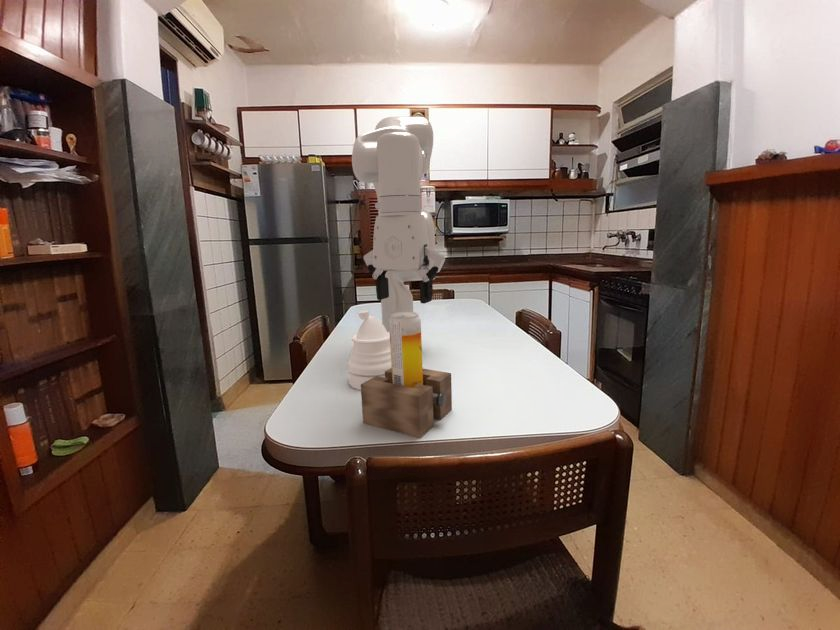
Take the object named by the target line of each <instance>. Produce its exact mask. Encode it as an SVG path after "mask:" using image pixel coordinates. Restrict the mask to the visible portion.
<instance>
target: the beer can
mask: <svg viewBox="0 0 840 630" xmlns="http://www.w3.org/2000/svg"><path fill="white" fill-rule="evenodd" d="M421 321H422V320H421V318H420V316H419V313H417V312H415V311H413V312H399V313H394V314H392V315H391V317H390V320H389V331H390V349H391V366H392V384H397V385H402V386H407V387H412V388H414V387H415V386H417V385H418V384H421V385H423V369H424V368H423V367H424V366H423V350H422V349H423V348H422V346H423V345H422V343H423V340H422V322H421Z"/></svg>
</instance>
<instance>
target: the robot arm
mask: <svg viewBox="0 0 840 630" xmlns="http://www.w3.org/2000/svg"><path fill="white" fill-rule="evenodd" d="M433 147H434V130H433V126H432V124H431V122H430V121H429V119H427V118H426V117H424V116H388V117H385V118H382V119H381V120H379V122H378V123H377V124H376V126H375V128H374V130H371V131H368V132H364V133H362V134H360V135H358V136H356V138H355V140H354V143H353V145H352V154H351V165H352V172H353V174H354V176H355V178H356V179H357V180H358V182H360V183H363V184H372V186H373V188H374V191H375V192H376V194H375V195H376V196H377V197H376V198H377V202H375V204H374V207H375V210H378V211H377V213H378V216H377V215H376V216H375V221H374V226H373V227H374V229H373V240H372V241H373V243H372V248H373V249H372V250H370V251H369V252H367V253H366V254H364V255H363V256H362V257H363V261H364V263H365V265H366V266H367V268H366V269H367V271H369V273H370V274H371V275H372V279H374V280H375V292H376V299H377V300H378V301H380V303H381V304H380V307H381V308H380V309H381V323H382V324H383V325H384V327H385V329H386V331H387V332H389V333H390V331H389V320H390V317H391V315H392V314H394V313H399V312H414V298H413V297H414V296H413V294H412V292H411V290H410V289H409V288H408V287H407V286H406V285H405V282H415V281H420V282H419V300H420V301H419V302H420V304H427V303H429V302H432V299H433V296H434V294H433V293H434V292H433V291H434V290H433V289H434V287H433V285H434V282H433V281H434V280H435V279H436V277H437V276H438V275H439V274H440V273H441V272H442V267H443V265H444V264H445V262H446V256H444V254H443V255H442V254H441V253H440V252H437V251H436V240H435V239H436V236H435V224H434V223H435V222H434V219H433V215H432V213H430V212H429V211H427V210H423V209H422V201H421V199H422V197H421V194H422V192H421V178H422V177H423V176H424V175H425V174H427V173H428V170H429V168H430V165H431V164H430V163H431V157H432V153H433Z"/></svg>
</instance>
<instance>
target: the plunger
mask: <svg viewBox="0 0 840 630" xmlns="http://www.w3.org/2000/svg"><path fill="white" fill-rule="evenodd" d="M433 403H435V404H437V406H440V407H443V406H444V405H445V403H446V394H445V393H441V392H440V393H439V394H436V393H433Z"/></svg>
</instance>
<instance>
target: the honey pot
mask: <svg viewBox="0 0 840 630" xmlns="http://www.w3.org/2000/svg"><path fill="white" fill-rule="evenodd" d="M357 313H358V317H359V318H360V319H361V320H362V323H361V325H360V326H359V328H358V331H357V333H355V334H353V335H352V336H351V341H352V342H353V345H352V348H351V350H350V351H351V353H350V355H349V360H347V368H348V369H347V370H348V383H349V384H350V385H351V386H352V387H351V386H350V385H349V386H350V387H351V388H353V387H354V388H356V389H355V390H358V389H359V391H361V384H362V383H364V382H366V381H368V380H370V379H372V378H373V377H375V376H378V377H384V378H385V371H386V370H388V369H390V368H392V366H391V349H390V333H389V332H387V331H386V329H385V327H384V325H383V324H382V320H380V319H379V318H378V317H376V316H374V315H369V314H370V311H369V310H360V311H358V312H357ZM354 388H353V389H354Z"/></svg>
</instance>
